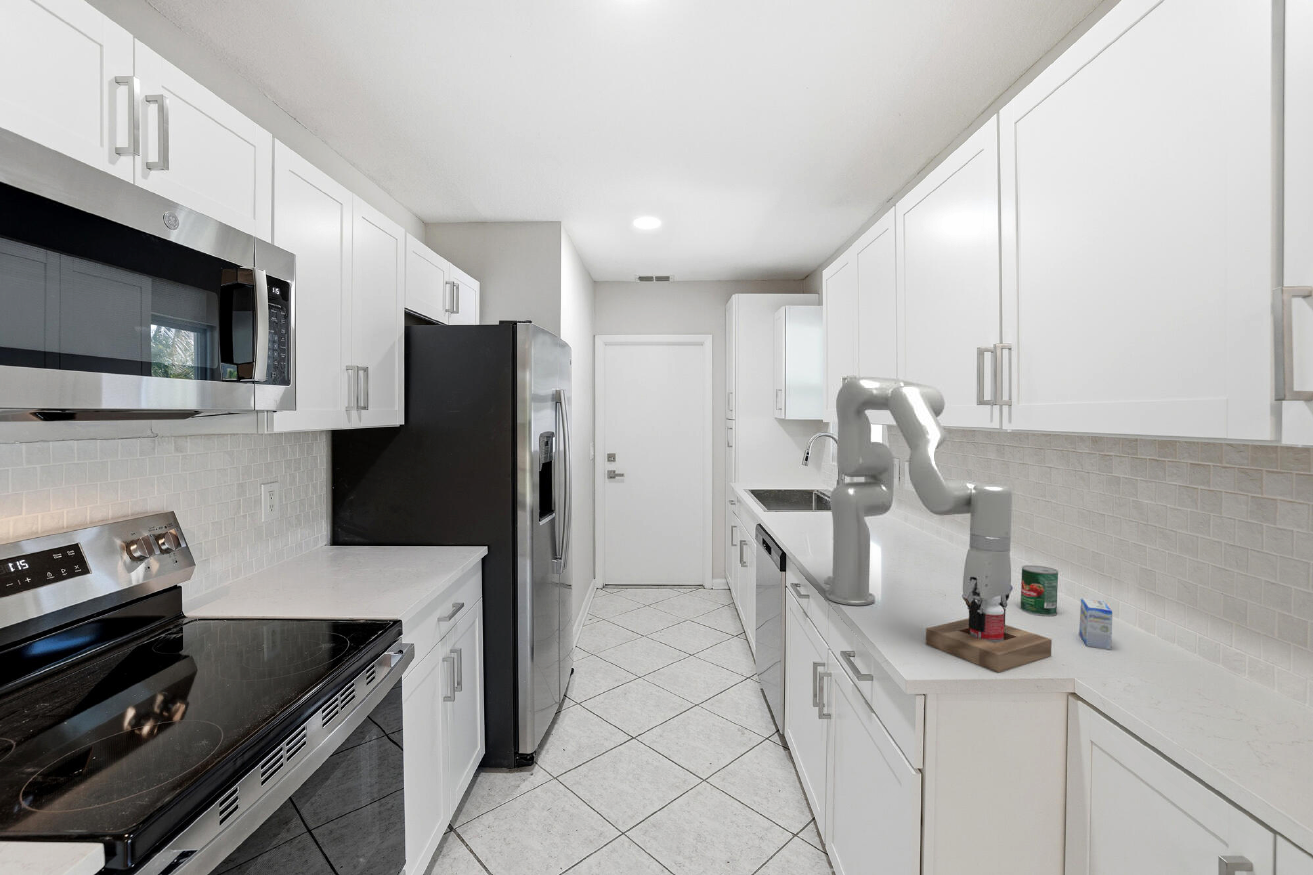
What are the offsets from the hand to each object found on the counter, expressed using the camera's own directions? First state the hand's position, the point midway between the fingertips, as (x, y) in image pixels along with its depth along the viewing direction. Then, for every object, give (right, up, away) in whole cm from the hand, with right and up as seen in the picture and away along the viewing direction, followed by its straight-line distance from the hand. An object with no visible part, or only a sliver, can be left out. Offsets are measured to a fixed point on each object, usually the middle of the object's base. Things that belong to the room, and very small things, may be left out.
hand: (986, 626), depth 125 cm
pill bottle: (0, -4, 0) cm, 4 cm away
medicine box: (+27, -5, +5) cm, 28 cm away
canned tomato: (+28, -5, +26) cm, 39 cm away
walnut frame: (0, -5, 0) cm, 5 cm away
